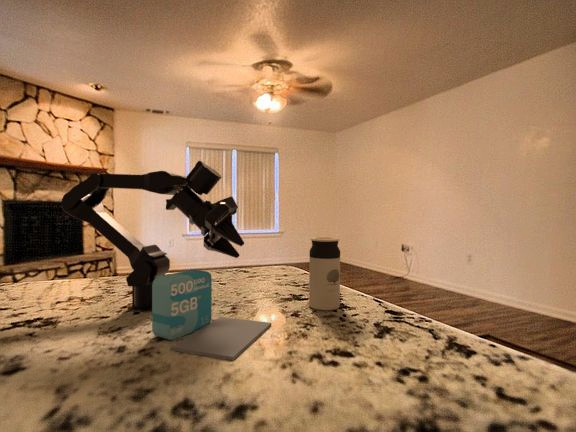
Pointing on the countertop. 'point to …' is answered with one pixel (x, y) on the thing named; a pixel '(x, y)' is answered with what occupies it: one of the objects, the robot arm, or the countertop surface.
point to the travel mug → (324, 274)
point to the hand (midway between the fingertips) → (240, 251)
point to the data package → (181, 303)
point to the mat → (222, 338)
